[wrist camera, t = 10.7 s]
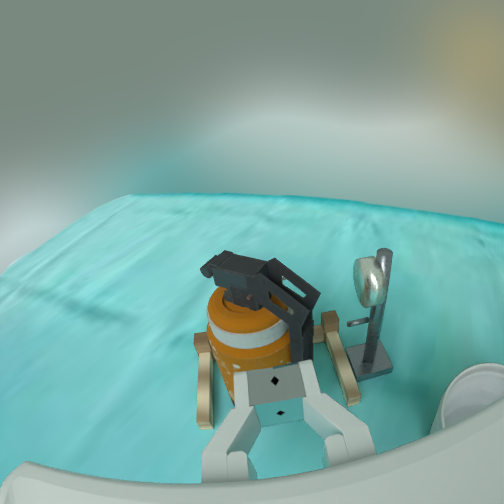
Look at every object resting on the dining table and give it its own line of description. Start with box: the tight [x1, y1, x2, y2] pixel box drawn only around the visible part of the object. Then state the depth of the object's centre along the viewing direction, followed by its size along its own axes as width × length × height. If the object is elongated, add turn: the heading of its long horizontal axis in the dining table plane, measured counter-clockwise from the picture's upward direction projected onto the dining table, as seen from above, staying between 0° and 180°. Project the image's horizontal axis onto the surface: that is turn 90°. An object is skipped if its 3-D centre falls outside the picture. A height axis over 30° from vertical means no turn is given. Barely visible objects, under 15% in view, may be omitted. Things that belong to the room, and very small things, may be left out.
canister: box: [200, 250, 321, 406], centre depth 30 cm, size 9×11×20 cm
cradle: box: [194, 310, 361, 430], centre depth 36 cm, size 13×20×4 cm, turn 95°
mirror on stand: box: [345, 248, 393, 382], centre depth 32 cm, size 6×5×17 cm
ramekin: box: [430, 363, 504, 434], centre depth 21 cm, size 13×13×7 cm
